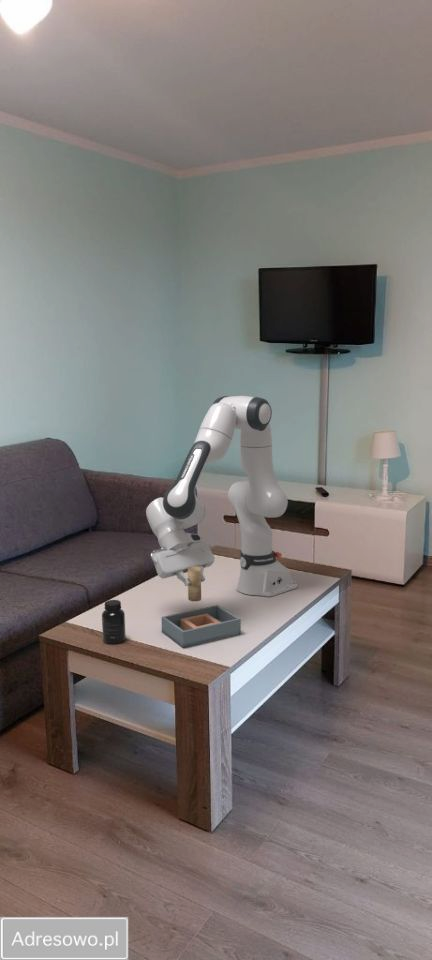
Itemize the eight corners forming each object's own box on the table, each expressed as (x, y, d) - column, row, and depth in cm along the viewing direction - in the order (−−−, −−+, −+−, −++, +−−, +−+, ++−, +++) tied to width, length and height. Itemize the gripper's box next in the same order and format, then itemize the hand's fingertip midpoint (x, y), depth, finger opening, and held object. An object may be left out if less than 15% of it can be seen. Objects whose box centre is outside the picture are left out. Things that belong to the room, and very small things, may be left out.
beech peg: (197, 596, 225) (196, 565, 223) (203, 599, 222) (203, 568, 220) (185, 598, 223) (185, 567, 221) (192, 602, 220) (191, 570, 218)
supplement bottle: (105, 635, 222) (103, 598, 220) (127, 635, 222) (126, 598, 220) (100, 644, 215) (99, 606, 213) (123, 644, 215) (122, 606, 213)
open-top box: (217, 619, 234) (217, 604, 233) (240, 634, 222) (240, 619, 221) (161, 632, 224) (161, 616, 223) (182, 648, 213) (182, 632, 212)
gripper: (152, 546, 218) (172, 585, 212) (205, 534, 231) (225, 570, 225) (144, 557, 222) (164, 595, 216) (196, 544, 235) (216, 580, 229)
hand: (195, 582), depth 221 cm, fingers closed on beech peg, 4 cm apart
